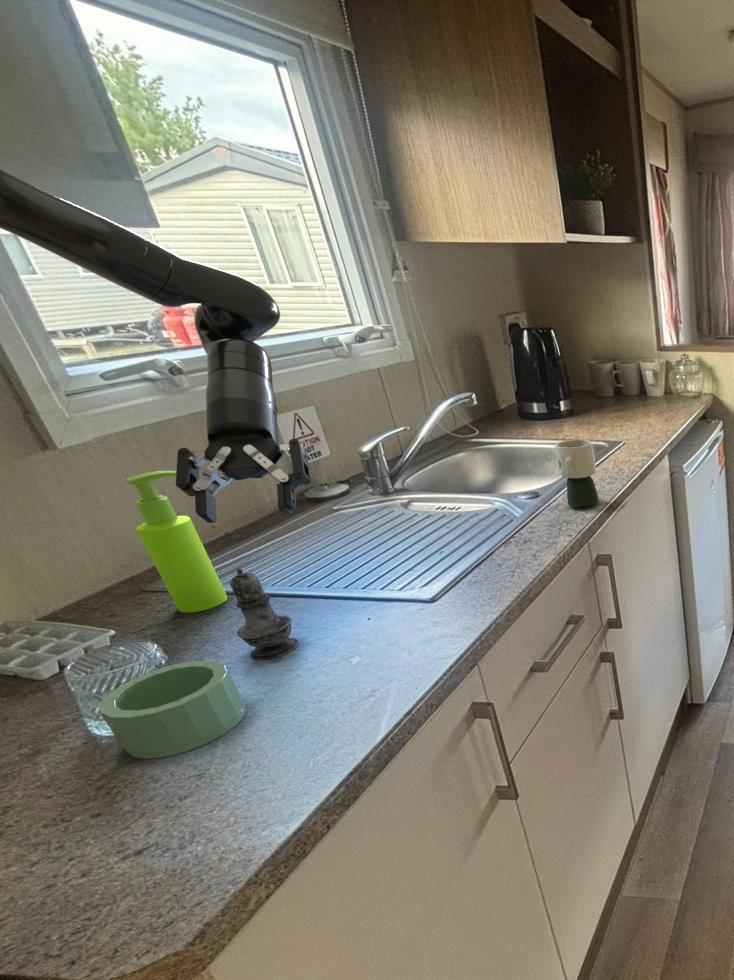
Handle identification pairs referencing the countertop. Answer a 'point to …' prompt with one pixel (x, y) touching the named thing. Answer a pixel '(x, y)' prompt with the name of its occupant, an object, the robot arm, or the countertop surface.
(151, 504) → the soap dispenser
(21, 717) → the countertop surface
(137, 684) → the holder
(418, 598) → the countertop surface
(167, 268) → the robot arm
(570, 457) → the character mug
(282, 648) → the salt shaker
